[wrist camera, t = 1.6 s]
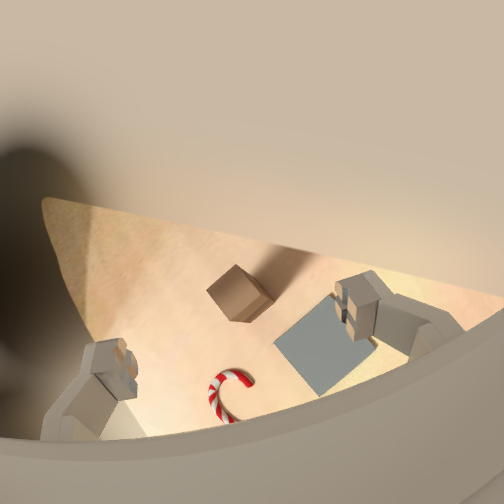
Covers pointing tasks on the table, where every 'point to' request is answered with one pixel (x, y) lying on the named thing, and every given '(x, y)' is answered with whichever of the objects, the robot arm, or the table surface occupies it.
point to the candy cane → (214, 388)
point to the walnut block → (240, 295)
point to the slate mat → (322, 347)
